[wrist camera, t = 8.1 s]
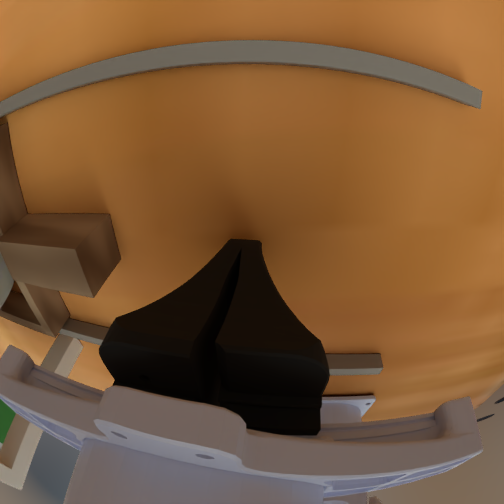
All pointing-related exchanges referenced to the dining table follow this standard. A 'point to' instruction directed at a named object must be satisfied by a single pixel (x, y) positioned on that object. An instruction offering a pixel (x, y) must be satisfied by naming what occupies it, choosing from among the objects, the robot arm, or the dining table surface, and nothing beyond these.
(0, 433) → the hardback book
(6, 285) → the teacup
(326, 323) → the dining table surface
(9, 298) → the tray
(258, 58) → the shelf
